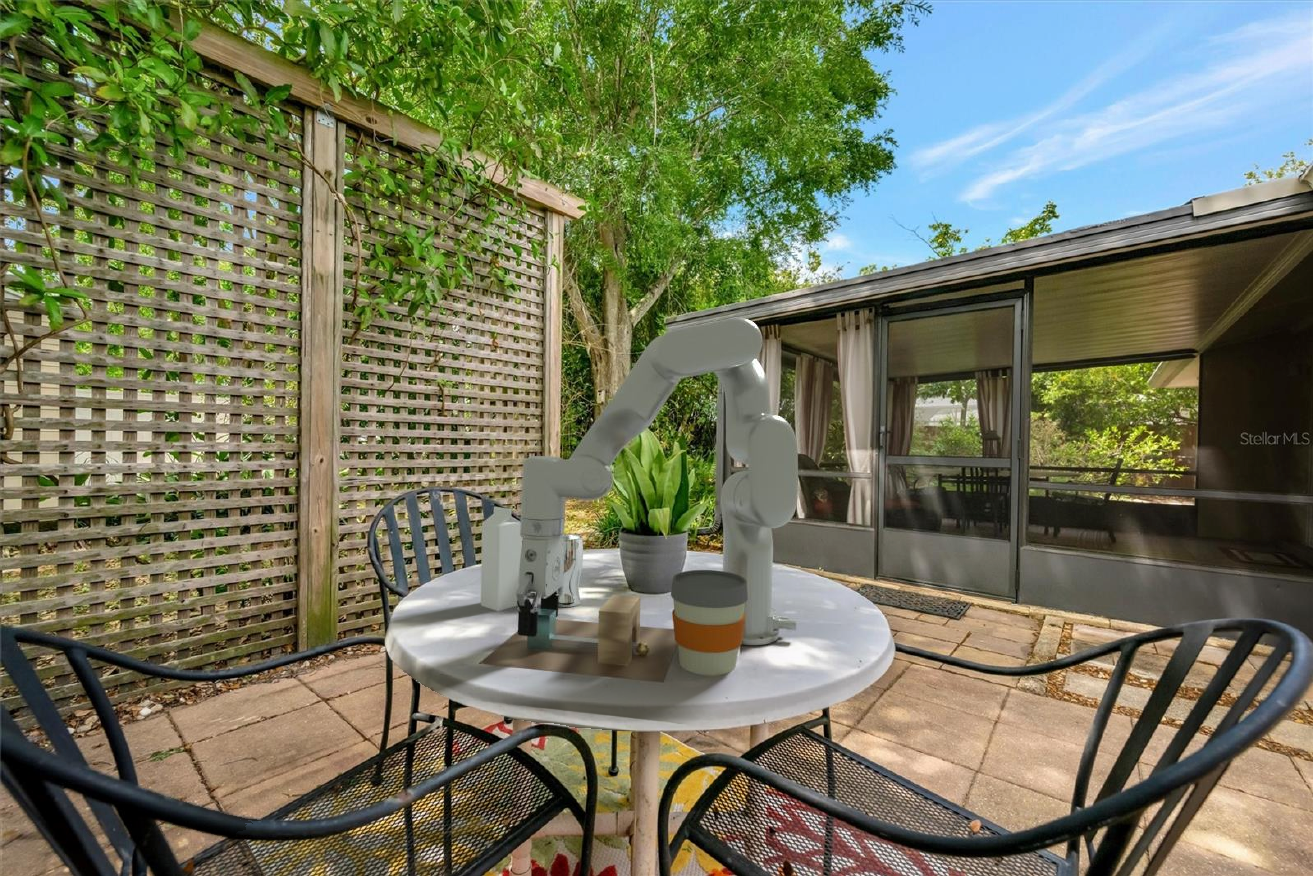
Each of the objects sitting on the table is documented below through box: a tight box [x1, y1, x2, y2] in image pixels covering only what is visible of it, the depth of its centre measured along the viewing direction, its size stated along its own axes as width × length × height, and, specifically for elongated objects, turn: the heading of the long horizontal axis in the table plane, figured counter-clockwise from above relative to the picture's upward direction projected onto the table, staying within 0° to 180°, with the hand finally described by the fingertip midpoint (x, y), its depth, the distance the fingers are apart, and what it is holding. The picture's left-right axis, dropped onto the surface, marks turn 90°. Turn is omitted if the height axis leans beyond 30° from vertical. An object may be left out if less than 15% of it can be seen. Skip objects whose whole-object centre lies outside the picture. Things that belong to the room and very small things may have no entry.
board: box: [478, 618, 678, 683], centre depth 97 cm, size 30×22×1 cm
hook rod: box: [527, 608, 649, 657], centre depth 94 cm, size 21×3×6 cm, turn 80°
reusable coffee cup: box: [670, 569, 748, 676], centre depth 90 cm, size 13×13×15 cm
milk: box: [480, 506, 523, 612], centre depth 118 cm, size 6×6×22 cm
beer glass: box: [558, 533, 584, 608], centre depth 124 cm, size 7×7×15 cm
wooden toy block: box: [598, 594, 641, 666], centre depth 93 cm, size 5×9×8 cm, turn 170°
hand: (538, 625), depth 96 cm, fingers open, 9 cm apart
